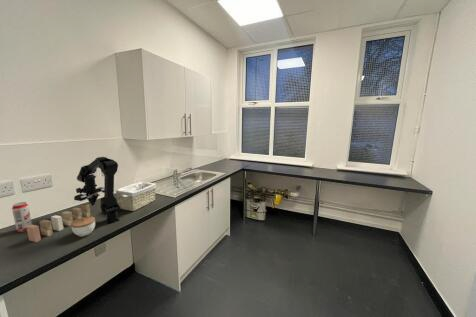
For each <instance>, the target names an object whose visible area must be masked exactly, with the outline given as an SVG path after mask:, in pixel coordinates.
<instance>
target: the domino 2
mask: <svg viewBox="0 0 476 317" xmlns="http://www.w3.org/2000/svg"><path fill="white" fill-rule="evenodd" d="M50 221H51V226H52V231H57V232H60V231H62V230H64V225H63V219H62V215H56V214H55V215H53V216H50Z"/></svg>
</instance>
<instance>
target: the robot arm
mask: <svg viewBox="0 0 476 317" xmlns="http://www.w3.org/2000/svg"><path fill="white" fill-rule="evenodd" d="M118 168H119V163H118V162H117V161H116V160H114V159H111V158H108V157H107V156H98V157H95V159H94V160H92V162H90V163H89V164H87V165H82V166H81V167H80V169H79V171H78V175H77V176H76V181H78V182H80V183H84V185H83V187H82V188H81V187H78V188H75V191H76V194H77V195H74V196H73V198H74V199H73V200H74V201H78V202H83V201H85V200H87V201H88V202H89V205H91V206H94V205H95V204H96V201H97V199H98V198H99V196H100V193H104V196H103V197H101V198H100V211H101V213H102V215H103V216H104V215H106V218H105V222H106V224H108V225H109V224H112V223H115V222H118V221H120V218H119V217H118V211H121V208H120V206H119V203H118V198H116V197H115V194H114V193H115V174H116V173H117V172H118ZM98 169H100V171H101V173H102V175H103V176H104V180H103V181H104V186H100V187H98V184H96V178H97V176H96V175H95V173H96V172H97V171H98Z"/></svg>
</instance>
